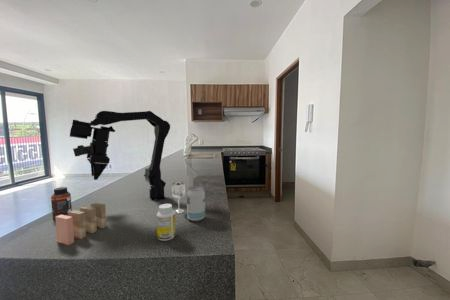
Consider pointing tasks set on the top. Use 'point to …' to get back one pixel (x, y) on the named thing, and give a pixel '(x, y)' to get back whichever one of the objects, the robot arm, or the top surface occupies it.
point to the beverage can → (196, 203)
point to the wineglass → (178, 194)
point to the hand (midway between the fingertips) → (94, 177)
